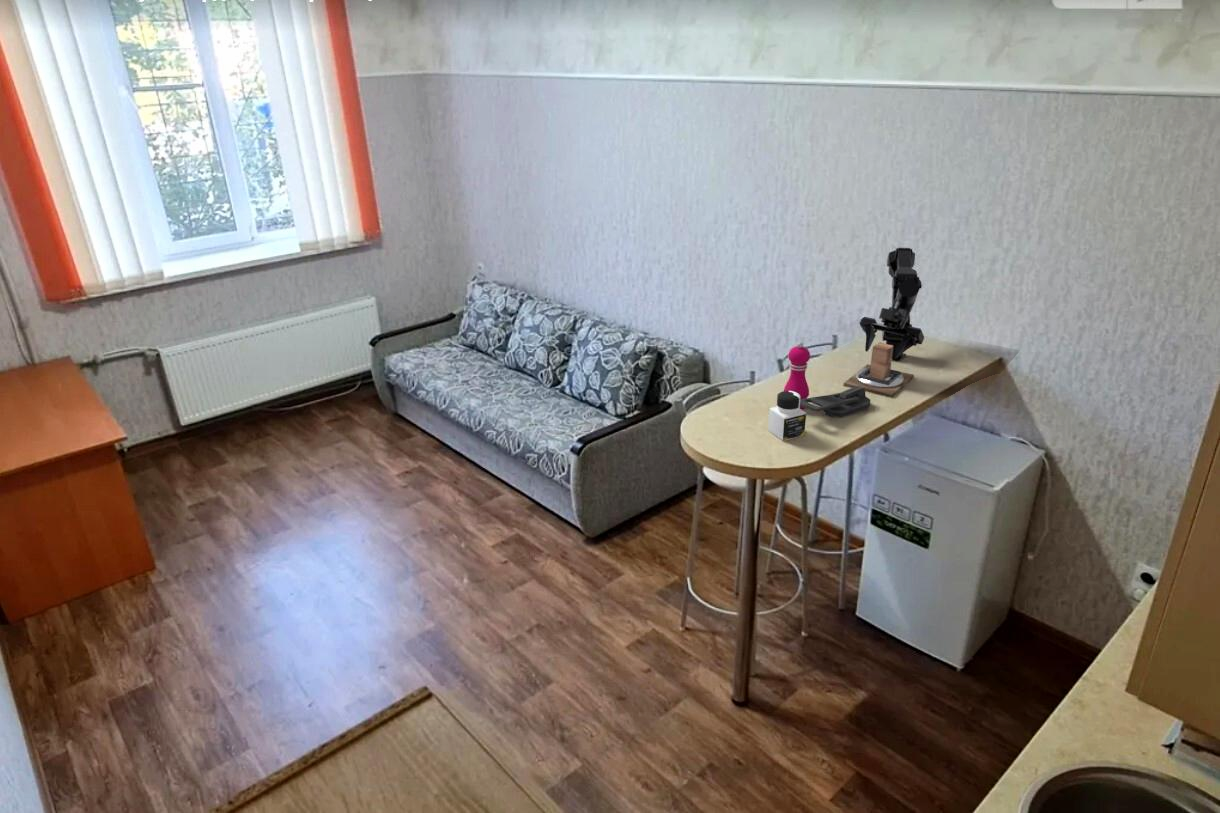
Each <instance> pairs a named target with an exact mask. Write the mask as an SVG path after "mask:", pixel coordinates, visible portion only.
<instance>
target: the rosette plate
mask: <svg viewBox="0 0 1220 813" xmlns="http://www.w3.org/2000/svg"><path fill="white" fill-rule="evenodd" d="M869 365H870V366H871V364H869ZM870 366H869V367H868V368H865V369H862V368H861V369H859V370H858V371H857V372H856V373H855V374H856V379H857V381H859V382H860V383H862V384H864V385H867V386H870V387H876V388H893V387H897V386H899V385H901V384H902V383H903V376H902V375H901V372H902V371H900V370H896V369H895V370H894V369H891V368H890V376H889V377H887V378H886V379H885V380H882V379H878V378H874V377H869V375H870ZM899 371H900V372H899Z"/></svg>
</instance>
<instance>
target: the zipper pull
mask: <svg viewBox="0 0 1220 813" xmlns="http://www.w3.org/2000/svg"><path fill="white" fill-rule="evenodd" d="M800 406H802V407H804V409H807V410H809V411H812V412H815V413H819V412H823V413H824V414H825V416H829V417H831V418H834V419H835V418H836V419H844V418H847V417H849V416H852V415H855V414H859V413H861V412H865V411H867V410H868V409H869V408H870V406H871V398H869V397H867V396H866V391H865V389H864V388H862V387H860V386H856V387H853V388H850V387H849V388H848V389H845V390H844V391H842V392H837V393H832V394H826V395H821V396H820V395H819V396H813V397H807V398H805V399H800Z"/></svg>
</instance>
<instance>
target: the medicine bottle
mask: <svg viewBox="0 0 1220 813" xmlns="http://www.w3.org/2000/svg"><path fill="white" fill-rule="evenodd" d="M768 414H769V415H768V432H770V433H771V434H772V433H773V434H772V435H774V436H776V437H777V438H778V439H779V440H781V441H782V442H785V441H789V440H793V439H796V438H801V437H804V436H805V435H806V434H805V432H806V420H807V412H806V411H804V409H802V410H801V409H800V395H799V394H798V393H796V392H793V391H784V390H783V391H780V392H779V393H778V394H777V398H776V406H773V407H770V408H769V413H768Z"/></svg>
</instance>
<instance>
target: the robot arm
mask: <svg viewBox="0 0 1220 813" xmlns="http://www.w3.org/2000/svg"><path fill="white" fill-rule="evenodd" d="M915 262H916V253H915V252H914V251H913V248H910V247H898V248H895V250H892V251H890V252H888V254H887V260H886V267H888V274H889V275H890V277H891V278H892V280H891V288H892V293H891V294H892V295H891V306H890V307H889V308H885V307H882V308H881V311H880V314H879V317H878V319H880V320H881V323H878V322H877V320H876V318H872V317H866V316H864V317H862V318H861V319H860V321H859V323H858V324H859V325H860V327H861V329H862V331H863V332H864V333H865V352H868V351H869V350H870V348H871V347H872V345H873V343H874V341H875V338H876V336H877V334H876V333H877V332H878V331H881V332H882V333H881V338H882V341H883V342H884V341H885V344H888V345H893V353H892V361H896V362H900V361H901V360H903V359H904V358H905V357H906V356H907V353H905V352H906V351H907V350H909V349H911V348H912V347H916V346H917V345H922V344H923V342H924V339H925V336H924V333H923V330H922V329H921V328H920V327H916V326H915V327H914V326H913V324H912V323H911V312H912V310H913V308H914V305H915V303H916V301H917V300H916V299H917V297H918V294H919V291H920V290H921V289H922V286H923V284H922V281H921V279H920V276H918V272H917V270H916V269H913V268H914V265H915Z"/></svg>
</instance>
